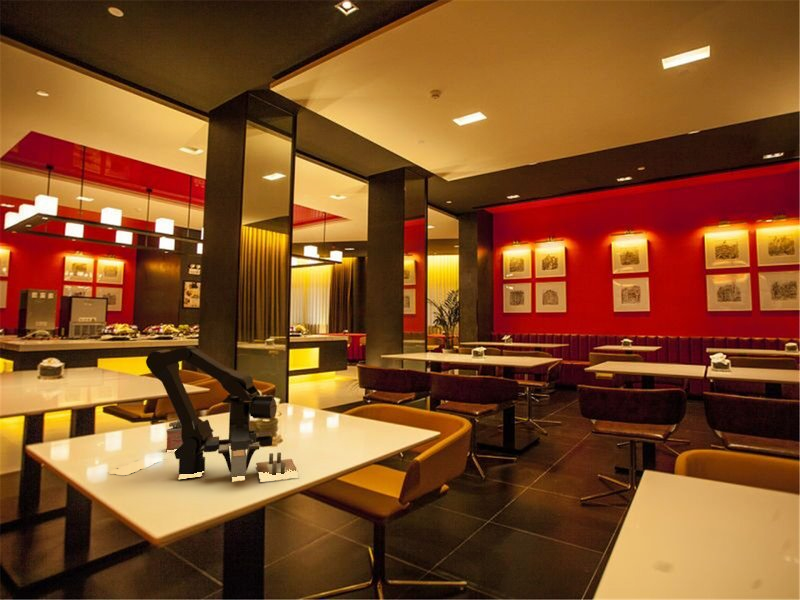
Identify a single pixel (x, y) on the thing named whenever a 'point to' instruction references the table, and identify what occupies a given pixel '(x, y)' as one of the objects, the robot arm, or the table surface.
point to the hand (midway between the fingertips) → (238, 470)
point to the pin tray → (276, 465)
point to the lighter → (174, 436)
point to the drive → (238, 463)
